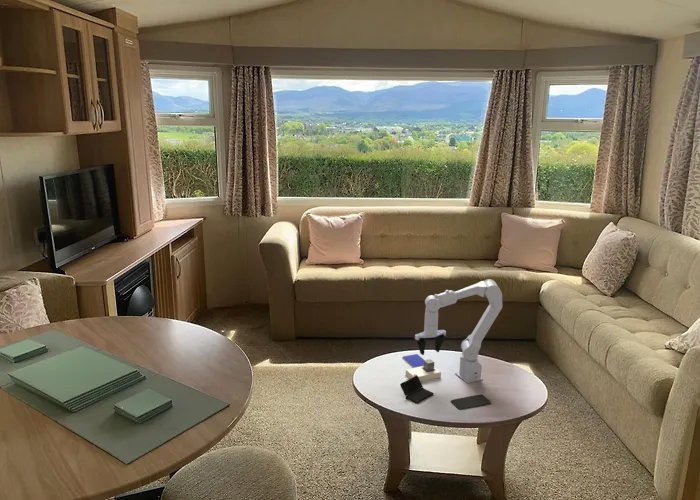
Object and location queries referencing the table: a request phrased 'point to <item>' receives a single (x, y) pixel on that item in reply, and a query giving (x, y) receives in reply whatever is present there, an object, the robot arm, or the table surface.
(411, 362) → the hard drive
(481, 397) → the phone
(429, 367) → the plug
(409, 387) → the handheld gaming console
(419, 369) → the socket plate
